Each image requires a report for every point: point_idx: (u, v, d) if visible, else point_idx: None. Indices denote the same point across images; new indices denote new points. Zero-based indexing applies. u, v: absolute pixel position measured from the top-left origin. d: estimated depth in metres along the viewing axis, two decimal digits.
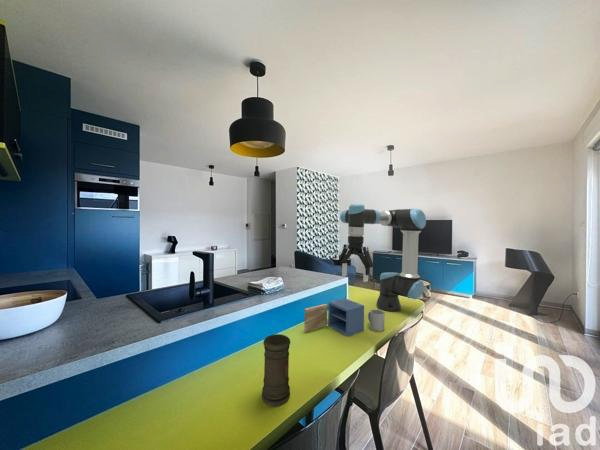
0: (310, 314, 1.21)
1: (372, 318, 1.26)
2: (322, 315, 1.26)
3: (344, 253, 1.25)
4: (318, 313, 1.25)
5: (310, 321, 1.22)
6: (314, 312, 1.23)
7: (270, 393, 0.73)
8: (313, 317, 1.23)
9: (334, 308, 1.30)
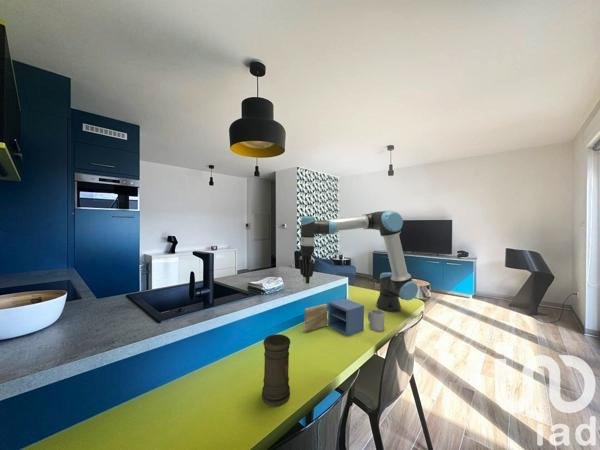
0: (310, 314, 1.21)
1: (372, 318, 1.26)
2: (322, 315, 1.26)
3: (302, 264, 1.33)
4: (318, 313, 1.25)
5: (310, 321, 1.22)
6: (314, 312, 1.23)
7: (270, 393, 0.73)
8: (313, 317, 1.23)
9: (334, 308, 1.30)
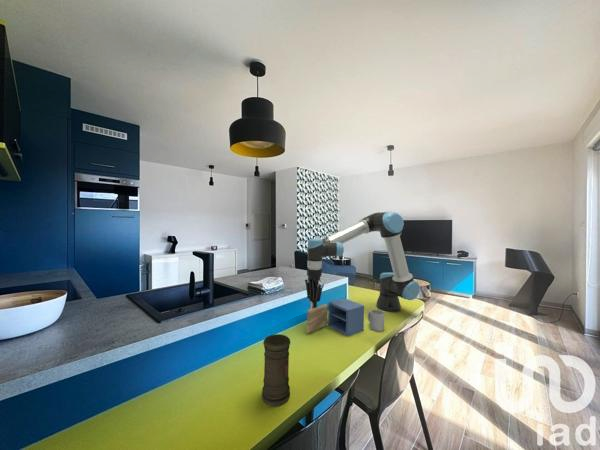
0: (312, 315, 1.20)
1: (372, 318, 1.26)
2: (323, 315, 1.26)
3: (309, 288, 1.28)
4: (319, 314, 1.24)
5: (312, 322, 1.20)
6: (316, 313, 1.22)
7: (270, 393, 0.73)
8: (315, 318, 1.22)
9: (334, 308, 1.30)
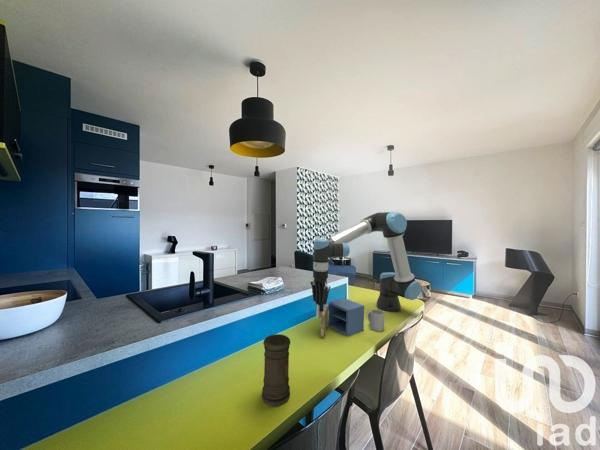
0: (324, 318, 1.17)
1: (372, 318, 1.26)
2: (326, 316, 1.25)
3: (315, 290, 1.24)
4: (326, 315, 1.23)
5: (324, 325, 1.18)
6: (325, 315, 1.20)
7: (270, 393, 0.73)
8: (325, 320, 1.19)
9: (334, 308, 1.30)
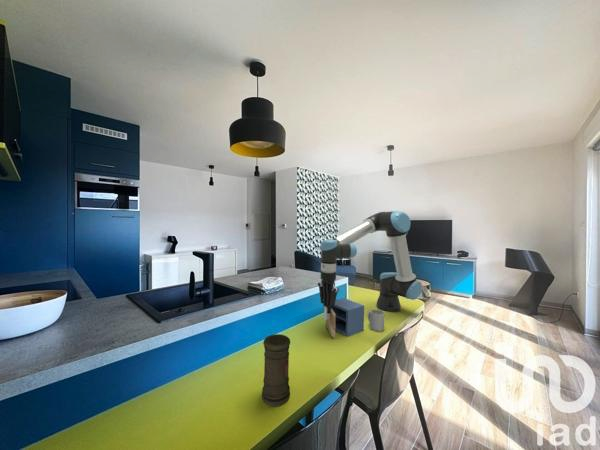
0: None
1: (372, 318, 1.26)
2: None
3: (322, 292, 1.22)
4: None
5: None
6: None
7: (270, 393, 0.73)
8: None
9: (334, 308, 1.30)
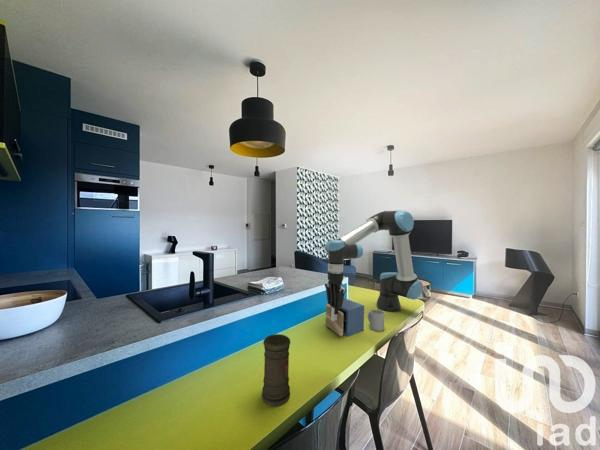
0: None
1: (372, 318, 1.26)
2: None
3: (329, 293, 1.21)
4: None
5: None
6: None
7: (270, 393, 0.73)
8: None
9: None
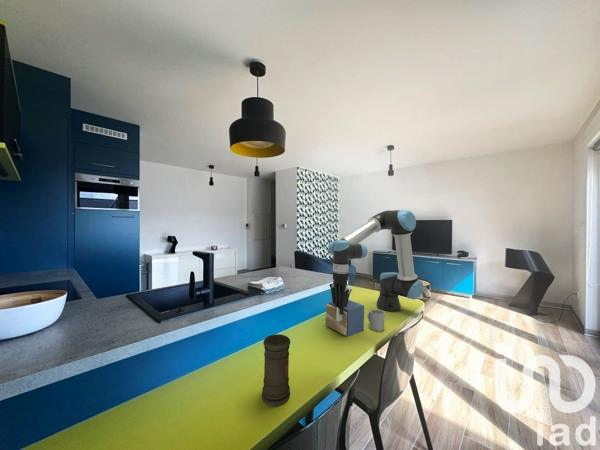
0: None
1: (372, 318, 1.26)
2: None
3: (334, 293, 1.20)
4: None
5: None
6: None
7: (270, 393, 0.73)
8: None
9: None
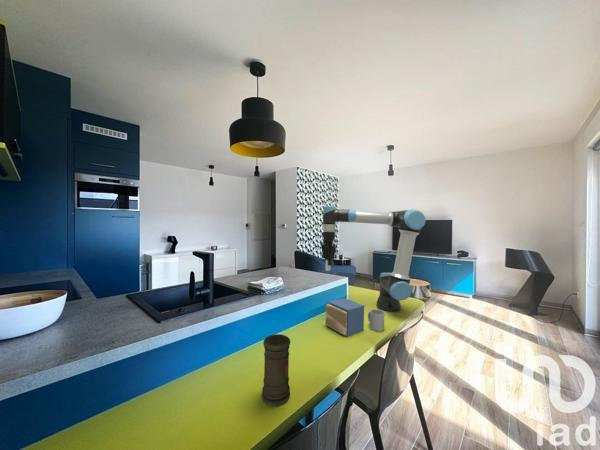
0: None
1: (372, 318, 1.26)
2: None
3: (324, 249, 1.48)
4: None
5: None
6: None
7: (270, 393, 0.73)
8: None
9: None
